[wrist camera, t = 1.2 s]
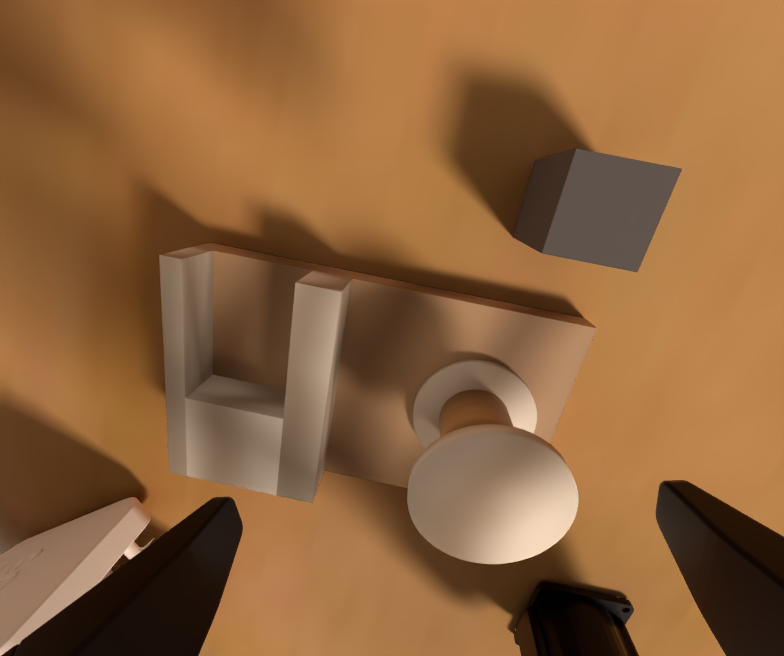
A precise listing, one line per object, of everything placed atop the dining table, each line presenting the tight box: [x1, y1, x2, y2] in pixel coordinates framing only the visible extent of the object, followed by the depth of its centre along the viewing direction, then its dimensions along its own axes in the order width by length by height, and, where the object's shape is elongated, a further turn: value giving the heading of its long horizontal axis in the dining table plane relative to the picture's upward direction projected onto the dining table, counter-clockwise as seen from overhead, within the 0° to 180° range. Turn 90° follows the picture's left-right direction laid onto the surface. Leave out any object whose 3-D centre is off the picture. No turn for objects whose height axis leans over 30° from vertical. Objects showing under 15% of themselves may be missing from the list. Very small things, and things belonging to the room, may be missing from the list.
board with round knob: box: [159, 243, 597, 564], centre depth 18 cm, size 20×12×8 cm, turn 80°
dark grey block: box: [513, 149, 682, 272], centre depth 15 cm, size 4×4×5 cm
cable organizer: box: [0, 497, 221, 656], centre depth 24 cm, size 15×11×12 cm
